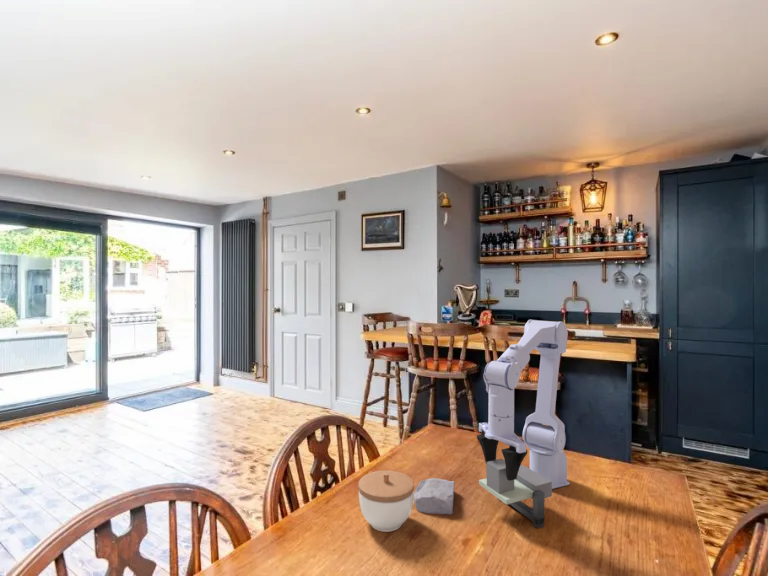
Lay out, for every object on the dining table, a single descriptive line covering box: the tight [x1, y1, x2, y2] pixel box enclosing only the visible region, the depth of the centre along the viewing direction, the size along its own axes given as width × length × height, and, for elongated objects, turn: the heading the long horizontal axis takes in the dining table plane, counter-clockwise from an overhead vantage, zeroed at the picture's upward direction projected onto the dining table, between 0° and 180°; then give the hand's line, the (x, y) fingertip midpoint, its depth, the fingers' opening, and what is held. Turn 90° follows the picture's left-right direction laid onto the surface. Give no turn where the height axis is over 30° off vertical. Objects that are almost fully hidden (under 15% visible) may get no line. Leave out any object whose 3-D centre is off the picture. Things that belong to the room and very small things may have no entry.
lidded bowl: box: [357, 469, 415, 533], centre depth 93 cm, size 13×13×11 cm
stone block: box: [413, 477, 455, 516], centre depth 103 cm, size 12×5×10 cm
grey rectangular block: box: [485, 458, 514, 494], centre depth 96 cm, size 4×4×6 cm
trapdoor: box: [478, 464, 553, 506], centre depth 97 cm, size 13×10×3 cm
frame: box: [496, 490, 545, 529], centre depth 98 cm, size 2×14×8 cm, turn 23°
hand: (500, 472), depth 96 cm, fingers open, 7 cm apart
